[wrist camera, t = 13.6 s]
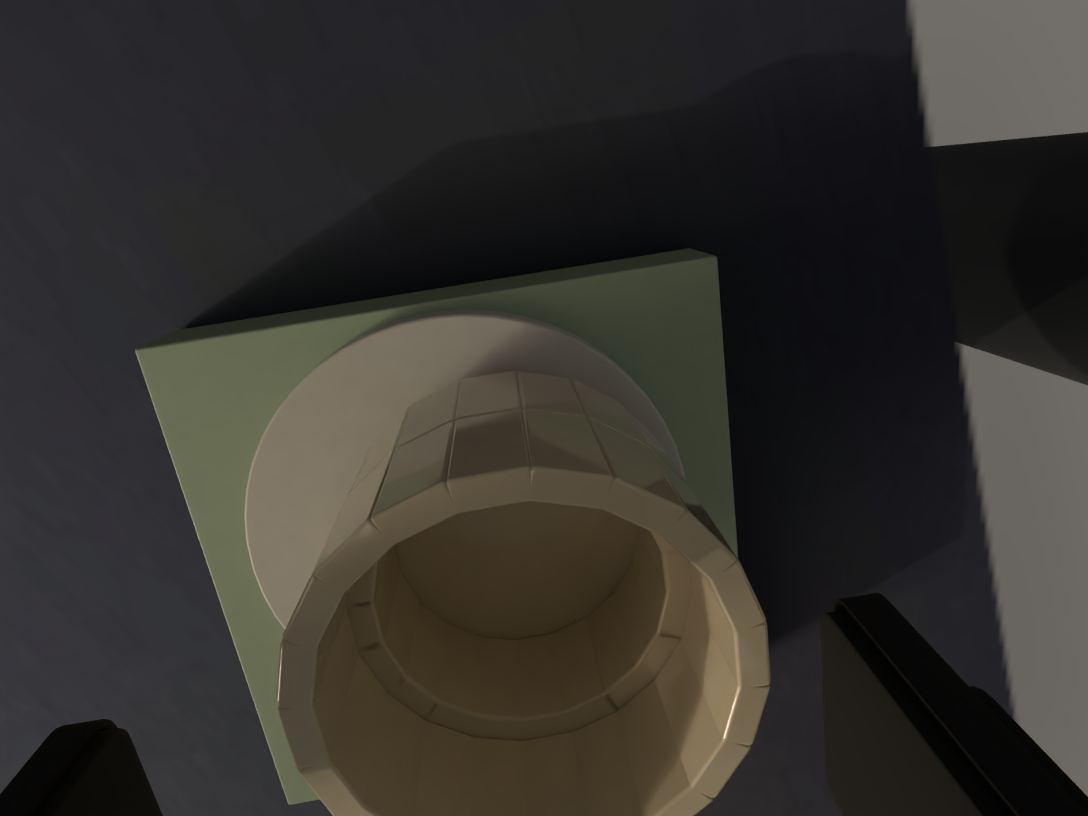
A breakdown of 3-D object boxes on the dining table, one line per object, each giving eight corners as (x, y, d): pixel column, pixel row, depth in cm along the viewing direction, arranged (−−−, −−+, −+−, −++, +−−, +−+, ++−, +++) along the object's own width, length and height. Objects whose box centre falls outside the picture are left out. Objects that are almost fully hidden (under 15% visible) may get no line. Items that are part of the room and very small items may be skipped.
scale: (691, 247, 16) (727, 258, 14) (725, 672, 20) (758, 740, 18) (175, 330, 16) (117, 356, 13) (307, 746, 20) (281, 826, 17)
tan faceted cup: (658, 340, 14) (757, 428, 9) (687, 629, 16) (780, 837, 11) (315, 396, 14) (213, 520, 9) (390, 682, 16) (343, 919, 11)
